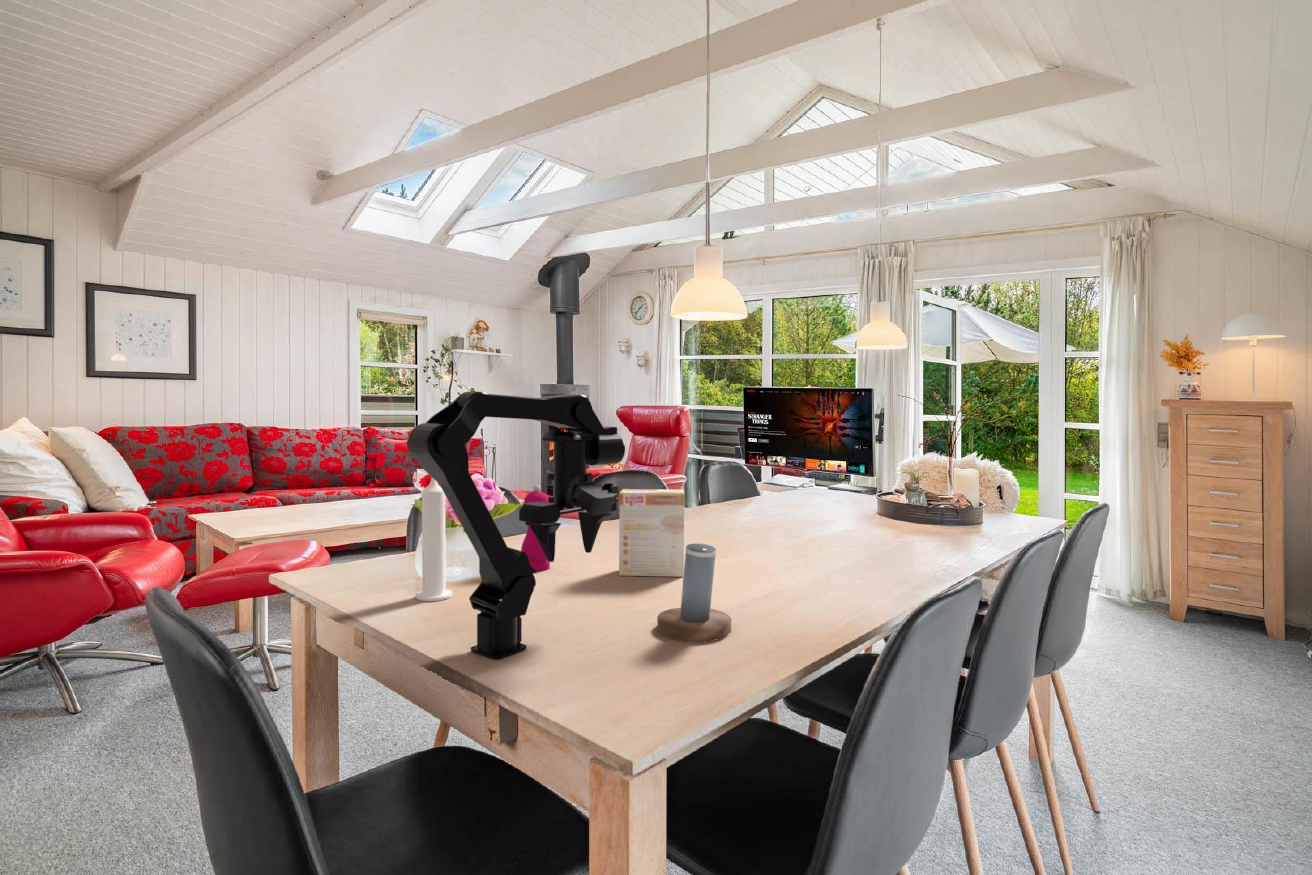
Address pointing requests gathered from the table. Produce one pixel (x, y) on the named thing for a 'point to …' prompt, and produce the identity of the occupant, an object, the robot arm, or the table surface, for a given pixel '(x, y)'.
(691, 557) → the jar
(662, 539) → the coffeecake box
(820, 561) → the table surface
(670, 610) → the trivet
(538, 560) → the pepper mill
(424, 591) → the candle
